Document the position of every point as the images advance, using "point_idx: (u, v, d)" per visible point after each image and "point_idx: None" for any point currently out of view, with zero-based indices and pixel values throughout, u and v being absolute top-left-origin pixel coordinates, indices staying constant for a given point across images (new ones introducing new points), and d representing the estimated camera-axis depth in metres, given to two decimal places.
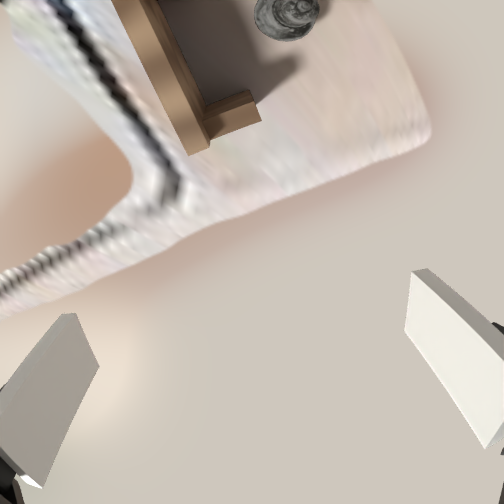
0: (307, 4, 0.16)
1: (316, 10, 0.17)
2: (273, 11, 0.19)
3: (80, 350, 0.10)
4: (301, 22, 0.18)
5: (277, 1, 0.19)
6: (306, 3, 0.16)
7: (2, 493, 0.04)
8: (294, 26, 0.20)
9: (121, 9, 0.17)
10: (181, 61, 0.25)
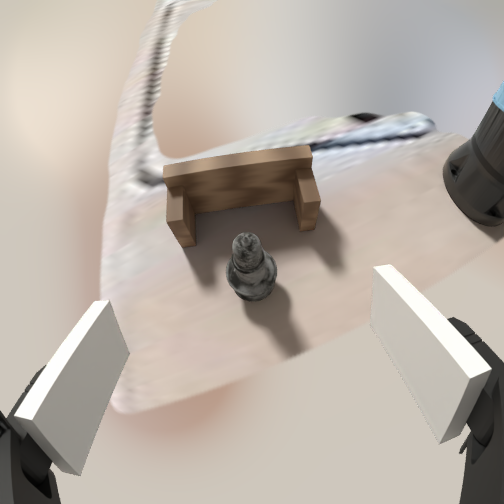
0: (245, 239, 0.28)
1: (241, 253, 0.29)
2: None
3: (113, 336, 0.11)
4: (233, 242, 0.30)
5: None
6: (246, 239, 0.28)
7: (36, 484, 0.05)
8: (234, 255, 0.32)
9: (283, 150, 0.36)
10: (234, 196, 0.41)
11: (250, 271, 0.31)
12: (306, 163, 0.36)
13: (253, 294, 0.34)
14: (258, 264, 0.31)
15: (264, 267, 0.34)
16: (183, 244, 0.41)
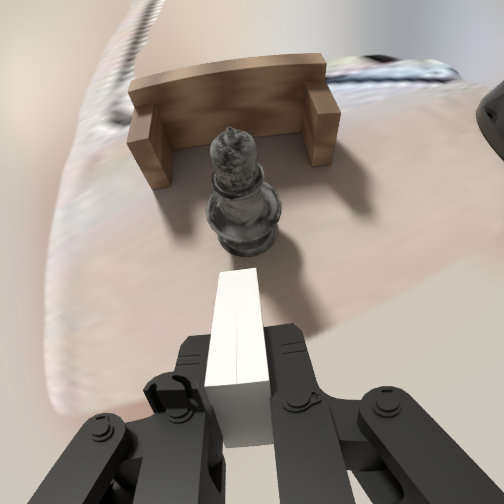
0: (230, 130, 0.16)
1: (223, 154, 0.17)
2: None
3: None
4: (211, 144, 0.18)
5: None
6: (232, 130, 0.16)
7: None
8: (215, 173, 0.20)
9: (287, 56, 0.24)
10: (223, 122, 0.29)
11: (239, 195, 0.20)
12: (318, 72, 0.24)
13: (245, 239, 0.23)
14: (252, 183, 0.19)
15: (262, 197, 0.22)
16: (153, 183, 0.29)
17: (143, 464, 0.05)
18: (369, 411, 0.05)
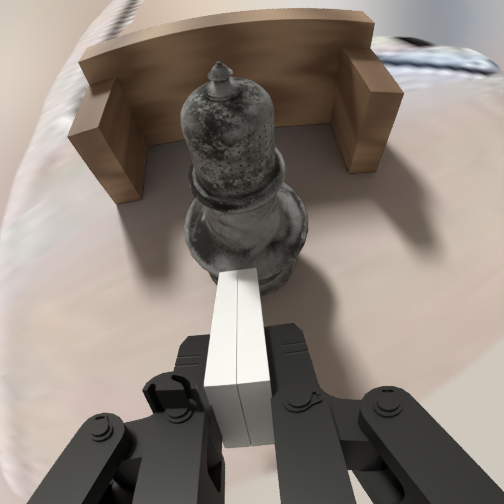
0: (220, 69, 0.07)
1: (205, 119, 0.08)
2: None
3: None
4: None
5: None
6: (224, 69, 0.07)
7: None
8: None
9: (316, 10, 0.14)
10: None
11: (238, 204, 0.10)
12: (362, 36, 0.14)
13: None
14: (264, 182, 0.10)
15: (278, 207, 0.13)
16: (116, 196, 0.19)
17: (143, 464, 0.05)
18: (370, 411, 0.05)
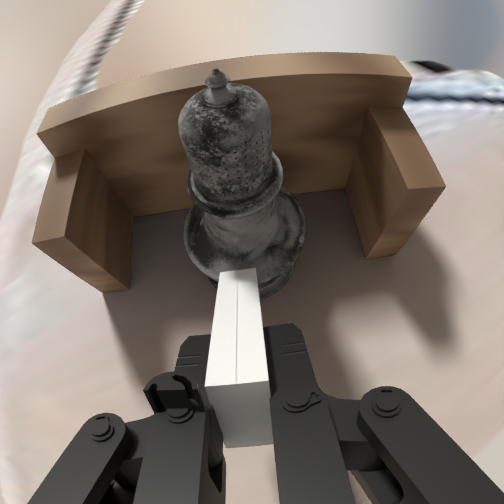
0: (217, 75, 0.07)
1: (202, 126, 0.08)
2: None
3: None
4: None
5: None
6: (221, 76, 0.07)
7: None
8: None
9: (338, 56, 0.12)
10: None
11: (236, 209, 0.10)
12: (395, 93, 0.12)
13: None
14: (261, 187, 0.10)
15: (276, 211, 0.13)
16: (101, 287, 0.17)
17: (144, 464, 0.05)
18: (368, 411, 0.05)
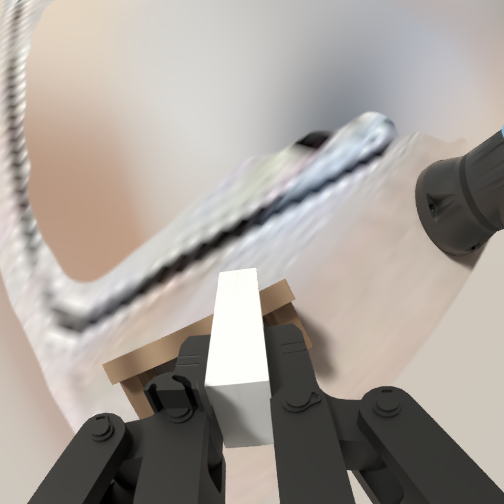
0: None
1: None
2: None
3: None
4: None
5: None
6: None
7: None
8: None
9: None
10: None
11: None
12: None
13: None
14: None
15: None
16: None
17: (144, 464, 0.05)
18: (369, 411, 0.05)
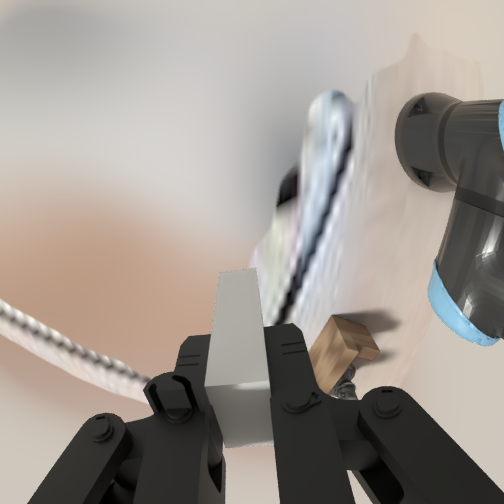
0: None
1: None
2: (338, 387, 0.44)
3: None
4: None
5: (344, 385, 0.44)
6: None
7: None
8: (338, 396, 0.45)
9: (338, 366, 0.41)
10: None
11: None
12: None
13: (352, 378, 0.49)
14: (354, 389, 0.44)
15: (348, 375, 0.46)
16: None
17: (143, 464, 0.05)
18: (369, 411, 0.05)
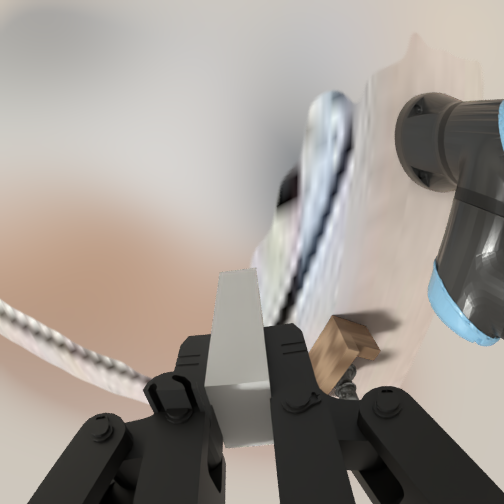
0: None
1: None
2: (339, 387, 0.44)
3: None
4: None
5: (345, 385, 0.44)
6: None
7: None
8: (339, 396, 0.45)
9: (338, 366, 0.41)
10: None
11: None
12: None
13: (352, 378, 0.49)
14: (354, 389, 0.44)
15: (348, 375, 0.46)
16: None
17: (143, 464, 0.05)
18: (369, 411, 0.05)
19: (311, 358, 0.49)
